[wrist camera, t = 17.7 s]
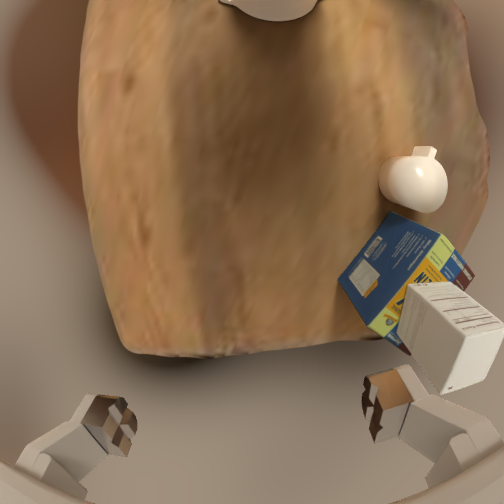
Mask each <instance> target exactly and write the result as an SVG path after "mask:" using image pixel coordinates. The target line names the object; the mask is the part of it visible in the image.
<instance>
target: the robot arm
mask: <svg viewBox="0 0 504 504" xmlns="http://www.w3.org/2000/svg"><path fill="white" fill-rule="evenodd" d="M220 1H221V2H223V3H227V4H231V5H234V6H236V7H238V8H239V9H241V10H242V11H243V12H245V13H247V14H249V15H251V16H253V17H256V18H259V19H263V20H268V21H288V20H293V19H297V18H299V17H302V16H304V15H306V14H307V13H308V12H310V11H311V10H312V9H313V7H314V6H315V4H316V2H317V1H318V0H220ZM363 385H364V387H365V391H364V392H363V393H362V409H363V413H364V416H365V419H367V420H368V421H370V426H369V430H370V433H371V436H372V439H373V441H374V443H378V442H382V441H385V440H388V439H392V438H395V437H399V439H401V440H402V441H404V442H405V443H406V444H408V445H409V446H411V447H412V448H414V449H415V450H416V451H418V452H419V453H421V454H422V455H424V456H425V457H426V458H428V459H429V460H431V461H432V462H434V463H435V464H434V466H433V467H432V469H431V470H430V471H429V473H428V474H427V476H426V477H425V479H426V482H427V485H428V487H429V488H428V489H426V490H424V491H422V492H419V493H417V494H414V495H412V496H409V497H407V498H404V499H401V500H399V501H396V502H393V503H390V504H504V442H503V440H502V439H501V437H500V436H499V434H498V433H497V431H496V430H495V428H494V426H493V425H492V423H491V422H490V420H489V419H488V418H487V417H485V416H482V415H480V414H477V413H475V412H472V411H470V410H468V409H465V408H463V407H461V406H458V405H456V404H454V403H451V402H449V401H447V400H445V399H442V398H440V397H437V396H436V395H430V396H429V394H428V393H427V391H426V390H425V388H424V387H423V385H422V383H421V382H420V380H419V379H418V377H417V375H416V374H415V372H414V371H413V369H412V368H411V367H410V365H408V364H406V365H403V366H399V367H396V368H394V369H389V370H386V371H382V372H379V373H375V374H372V375H367V376H365V378H364V383H363ZM127 406H128V403H127V402H126V400H125V399H124V398H123V397H117V396H109V395H101V394H92V393H88V394H87V395H85V397H84V399H83V400H82V402H81V403H80V405H79V407H78V408H77V410H76V412H75V413H74V415H73V417H72V419H71V420H70V421H66V422H64V423H63V424H61V425H59V426H58V427H56V428H54V429H53V430H51V431H49V432H48V433H46V434H45V435H43V436H41V437H40V438H38V439H36V440H34V441H33V442H31V443H29V444H27V446H26V447H25V449H24V450H23V452H22V454H21V455H20V457H19V459H18V461H17V462H16V464H15V466H12V465H10V464H8V463H7V462H5V461H4V460H2V459H1V458H0V504H94V503H91V502H88V501H86V500H85V497H86V495H87V492H88V491H87V489H86V488H85V487H84V486H82V485H81V484H80V483H79V481H80V480H81V479H83V478H84V477H85V476H86V475H87V474H88V473H89V472H90V471H91V470H93V469H94V468H95V467H96V466H97V465H98V464H99V463H100V462H102V461H103V460H104V459H105V458H106V457H107V456H108V454H110V455H116V456H122V457H127V455H128V453H129V450H130V447H131V445H132V443H131V441H130V439H131V438H132V437H133V436H134V435H135V434H136V431H137V419H136V416H135V414H134V413H133V412H132V411H131V410H130V409H128V408H127Z"/></svg>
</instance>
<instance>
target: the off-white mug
mask: <svg viewBox="0 0 504 504" xmlns="http://www.w3.org/2000/svg"><path fill="white" fill-rule="evenodd" d="M436 151H437V150H436V149H435V148H433V147H432V146H416V147H414V150H413V153H412V156H393V157H390V158H388V159H387V160H386V161H385V162H384V163H383V164H382V166H381V168H380V170H379V174H378V184H379V188H380V190H381V192H382V194H383V195H384V196H385V198H387V199H388V200H389V201H391V202H393V203H396V204H399V205H402V206H405V207H408V208H410V209H413V210H416V211H419V212H422V213H431V212H434V211H435V210H437V209H438V208H439V207H440V206H441V205H442V203H443V202H444V200H445V197H446V194H447V188H448V183H447V177H446V173H445V171H444V169H443V167H442V166H441V164H440V163H439V162H438V161H436V160H435V159H434V158H435V155H436Z"/></svg>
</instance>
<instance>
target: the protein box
mask: <svg viewBox="0 0 504 504" xmlns="http://www.w3.org/2000/svg"><path fill="white" fill-rule="evenodd" d="M474 276H475V275H474V273H473V272H472V271H471V269H470V268H469V266H468V265H467V264H466V262H465V261H464V260H463V258H462V257H461V256H460V254H459V253H458V252H457V251H456V249H455V248H454V247H453V246H452V244H451V243H450V242H449V241H448V239H447V238H446V237H445V236H444V235H443V234H442V233H439V232H437V231H435V230H432V229H430V228H428V227H426V226H424V225H421V224H419V223H417V222H415V221H413V220H410V219H408V218H406V217H404V216H401V215H399V214H397V213H395V212H393V211H390V212H389V214H388V215H387V217H386V218H385V219H384V221H383V222H382V223H381V225H380V226H379V228H378V229H377V230H376V232H375V233H374V234H373V236H372V237H371V238H370V239H369V241H368V242H367V243H366V245H365V246H364V247H363V248H362V250H361V251H360V252H359V253H358V255H357V256H356V257H355V258H354V260H353V261H352V262H351V263H350V265H349V266H348V267H347V268H346V270H345V271H344V272H343V273H342V275H341V276H340V277H339V278H338V281H339V283H340V285H341V286H342V288H343V289H344V291H345V292H346V294H347V295H348V297H349V299H350V300H351V302H352V303H353V305H354V306H355V308H356V310H357V311H358V313H359V315H360V316H361V318H362V319H363V321H364V323H365V324H366V326H367V327H368V328H369V329H371V330H372V331H374V332H375V333H377V334H378V335H380V336H382V337H383V338H385V339H386V340H388V341H389V342H391V343H392V344H393V345H395V346H396V347H398V348H399V349H400V350H401V351H403V352H404V353H406V354H407V355H411V352H410V351H409V350H408V348H407V347H406V345H405V344H404V343H403V341H402V340H401V339H400V337H399V336H398V334H397V333H396V332H397V328H398V325H399V321H400V317H401V313H402V309H403V304H404V300H405V295H406V291H407V285H408V284H416V283H431V282H451V283H453V284H454V285H455V286H457V287H458V288H459V289H461V290H462V291H463V292H464V290H465V289H466V288H467V286H468V285H469V284H470V282H471V281H472V279H473V278H474Z"/></svg>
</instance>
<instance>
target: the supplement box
mask: <svg viewBox="0 0 504 504" xmlns="http://www.w3.org/2000/svg"><path fill="white" fill-rule="evenodd" d="M396 333H397V334H398V336H399V337H400V339H401V340H402V341H403V343H404V344H405V345H406V347H407V348H408V350H409V351H410V352H411V354H412V355H413V357H414V358H415V359H416V361H417V362H418V364H419V365H420V367H421V368H422V369H423V371H424V372H425V374H426V375H427V377H428V378H429V380H430V381H431V383H432V384H433V386H434V387H435V388H436V390H437V392H438V393H439V394H440V395H441V394H445V393H449V392H452V391H455V390H458V389H461V388H464V387H467V386H470V385H472V384H475V383H477V382H480V381H482V380H484V378H485V377H486V375H487V373H488V371H489V369H490V366H491V364H492V362H493V360H494V358H495V356H496V354H497V351H498V349H499V347H500V345H501V342H502V340H503V338H504V323H502V322H501V321H500V320H499V319H497V318H496V317H495V316H494V315H493V314H491V313H490V312H489V311H488V310H486V309H485V308H484V307H483V306H481V305H480V304H479V303H478V302H476V301H475V300H474V299H473V298H471V297H470V296H469V295H467V294H466V293H465V292H463V291H462V290H461V289H459V288H458V287H457V286H455V285H454V284H453V283H451V282H431V283H416V284H408V285H407V291H406V295H405V300H404V304H403V309H402V313H401V317H400V321H399V325H398V328H397V332H396Z"/></svg>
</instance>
